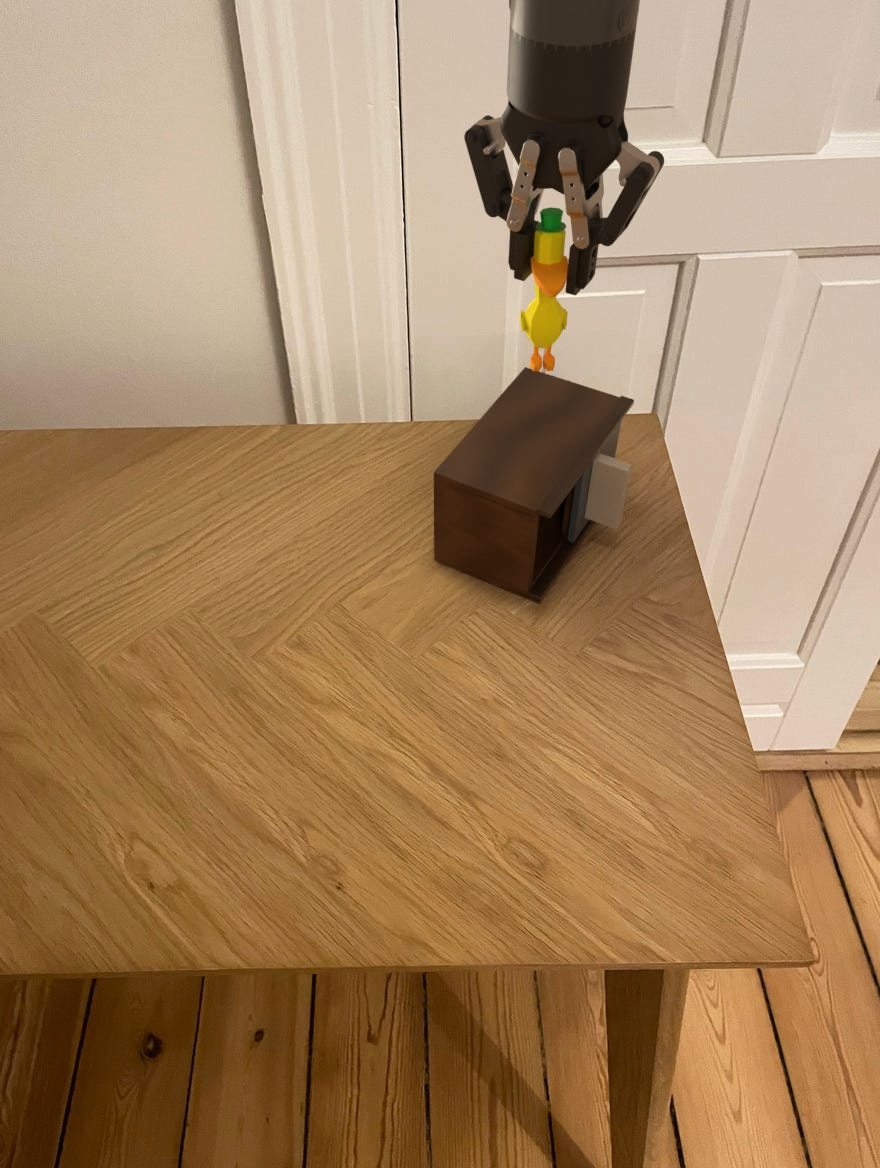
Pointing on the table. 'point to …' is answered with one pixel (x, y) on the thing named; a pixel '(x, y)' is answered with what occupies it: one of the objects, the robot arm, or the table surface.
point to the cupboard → (521, 482)
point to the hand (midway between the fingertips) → (549, 281)
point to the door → (600, 490)
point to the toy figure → (546, 288)
